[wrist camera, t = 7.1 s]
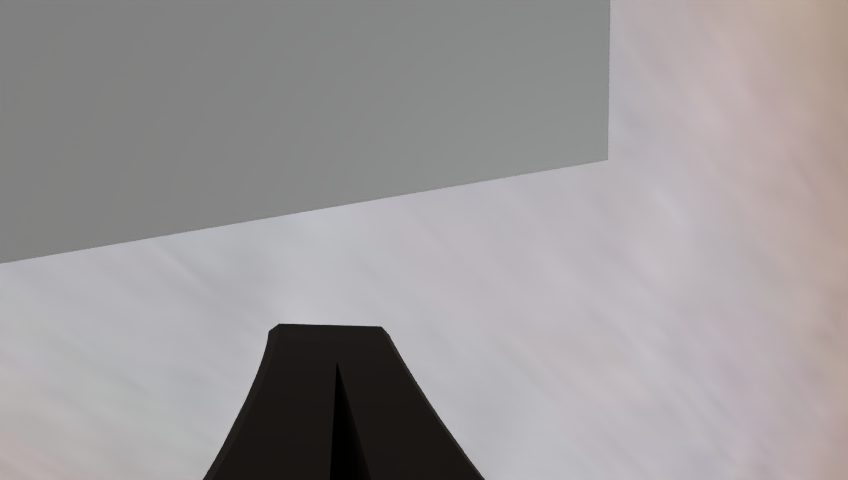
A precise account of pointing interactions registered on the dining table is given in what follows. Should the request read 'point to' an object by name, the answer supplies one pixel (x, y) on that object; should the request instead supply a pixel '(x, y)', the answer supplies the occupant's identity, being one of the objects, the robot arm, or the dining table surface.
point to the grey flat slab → (279, 107)
